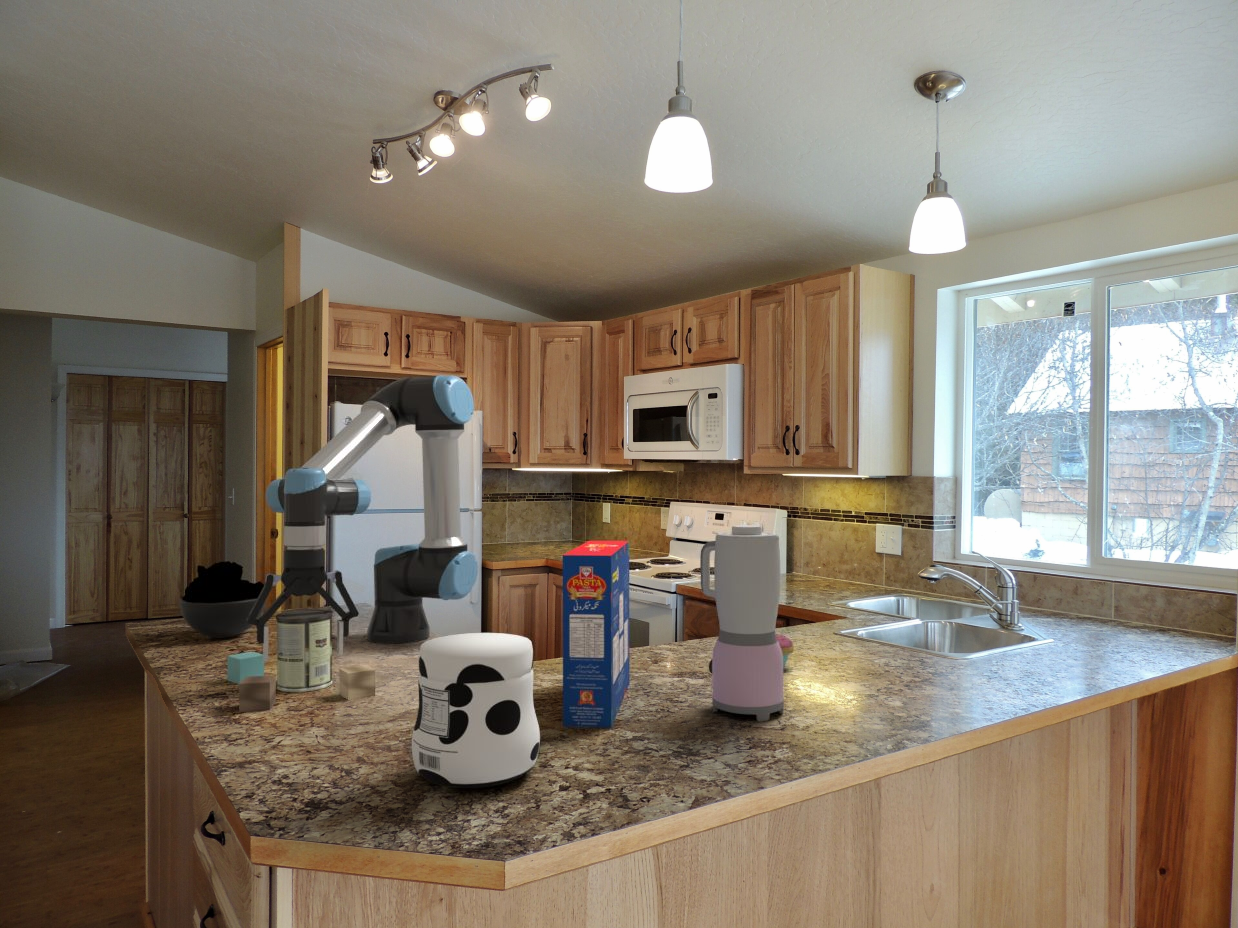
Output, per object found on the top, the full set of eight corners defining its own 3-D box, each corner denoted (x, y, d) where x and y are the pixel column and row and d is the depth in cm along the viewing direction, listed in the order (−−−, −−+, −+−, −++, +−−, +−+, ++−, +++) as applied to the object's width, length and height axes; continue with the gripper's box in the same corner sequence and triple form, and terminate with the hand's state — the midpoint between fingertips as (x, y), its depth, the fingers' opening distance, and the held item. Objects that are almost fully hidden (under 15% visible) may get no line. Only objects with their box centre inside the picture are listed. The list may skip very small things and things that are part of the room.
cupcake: (748, 670, 172) (748, 612, 172) (757, 661, 180) (757, 606, 180) (790, 674, 169) (789, 615, 169) (797, 664, 177) (797, 608, 177)
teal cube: (251, 675, 169) (251, 651, 169) (264, 679, 165) (264, 654, 166) (227, 680, 165) (227, 655, 165) (239, 684, 162) (239, 659, 162)
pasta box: (589, 682, 163) (588, 540, 163) (629, 683, 162) (629, 540, 162) (562, 725, 135) (562, 555, 135) (611, 727, 134) (611, 555, 134)
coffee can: (292, 678, 166) (292, 608, 166) (341, 679, 165) (341, 608, 165) (265, 691, 156) (265, 617, 156) (317, 693, 155) (317, 618, 155)
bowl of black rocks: (255, 626, 222) (255, 556, 222) (277, 638, 206) (277, 562, 206) (171, 635, 209) (171, 561, 209) (188, 649, 193) (188, 568, 194)
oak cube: (365, 690, 157) (365, 664, 157) (375, 696, 153) (375, 669, 153) (339, 695, 154) (339, 668, 154) (348, 700, 150) (348, 673, 150)
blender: (797, 709, 144) (796, 525, 144) (762, 726, 134) (761, 529, 134) (720, 694, 154) (719, 522, 154) (682, 708, 144) (681, 525, 144)
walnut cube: (275, 702, 149) (275, 675, 149) (269, 710, 144) (269, 682, 144) (245, 704, 148) (245, 676, 148) (239, 712, 143) (239, 683, 143)
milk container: (543, 752, 122) (543, 630, 122) (535, 798, 105) (535, 656, 105) (425, 753, 122) (425, 631, 122) (398, 800, 104) (398, 658, 105)
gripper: (367, 544, 170) (366, 647, 169) (233, 548, 159) (232, 659, 158) (373, 546, 163) (372, 654, 163) (234, 551, 152) (233, 667, 151)
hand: (303, 657), depth 160 cm, fingers open, 13 cm apart
